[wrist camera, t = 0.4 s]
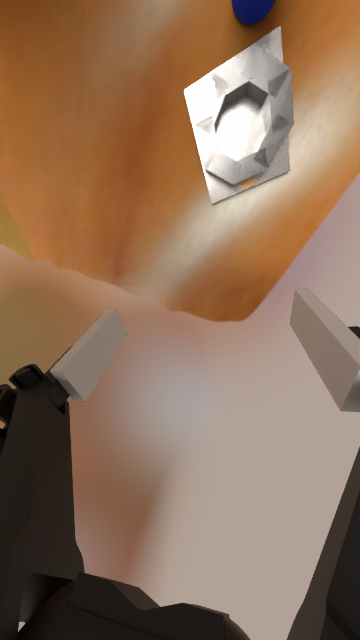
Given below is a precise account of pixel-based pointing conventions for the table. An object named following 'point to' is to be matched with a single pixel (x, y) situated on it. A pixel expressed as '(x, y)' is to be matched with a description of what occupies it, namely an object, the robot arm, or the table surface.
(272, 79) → the socket
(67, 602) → the robot arm
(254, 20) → the beverage can
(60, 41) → the table surface
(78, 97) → the table surface
